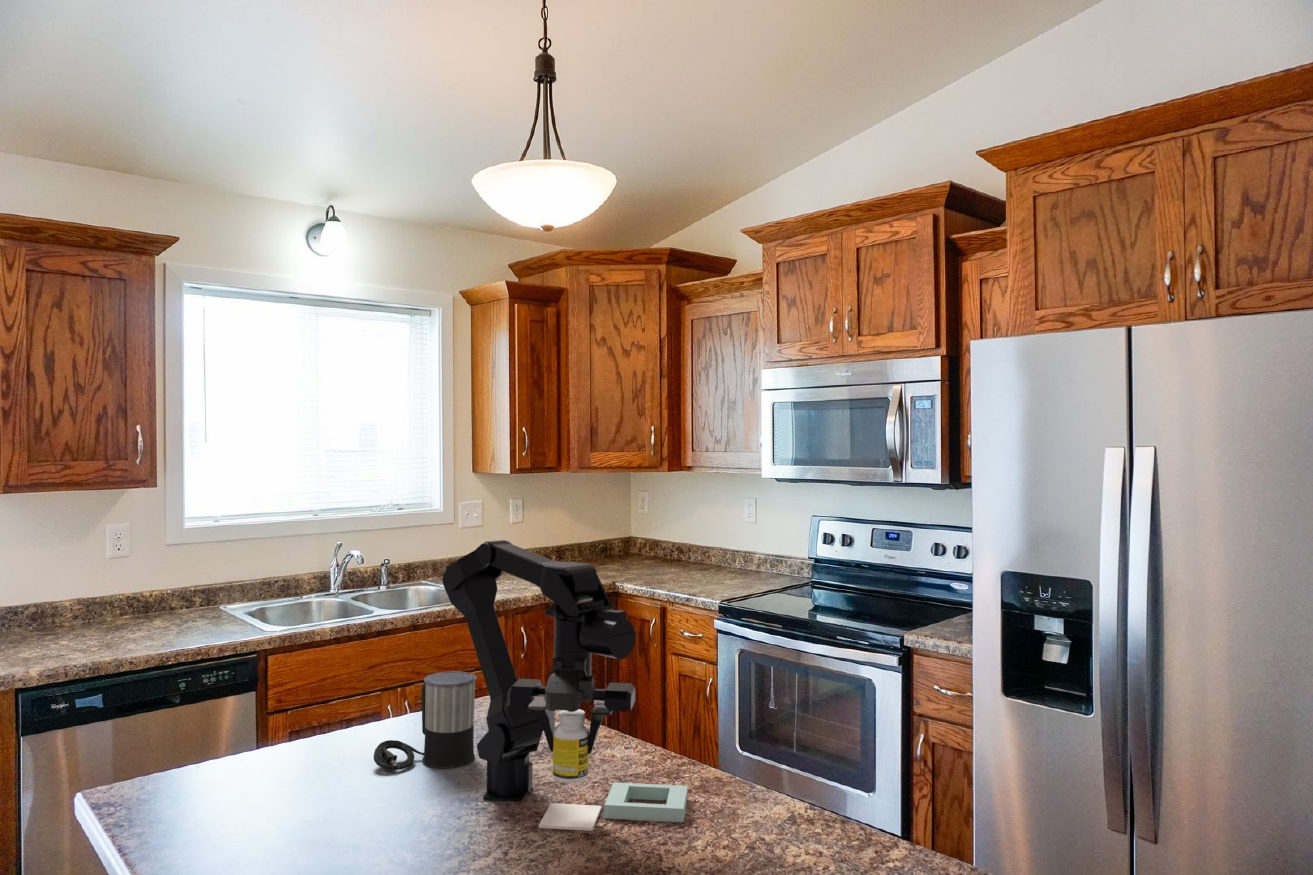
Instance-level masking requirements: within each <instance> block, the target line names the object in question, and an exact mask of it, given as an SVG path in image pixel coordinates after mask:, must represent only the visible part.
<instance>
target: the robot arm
mask: <svg viewBox="0 0 1313 875" xmlns="http://www.w3.org/2000/svg"><path fill="white" fill-rule="evenodd" d="M504 573H507V574H509V575H511V576H513V577H516V578H519V579H521V580H523V581H525V582H528V583H530V584H533V585H535V586H536V587H538V588H539V589H540V591H541V595H543V596H544V597H545V598H547V599H548V600H549V601H551V602H552V604H551V605H550V606H548V608H546V609H545V610H544V612H543V613H544V615H545V616H547V617H552V618H554V620H553V621H554V624H553V626H554V629H553V658H552V668H551V671H550V674H549V677H548V680H547V683H546V686H543V684H542V680H541V679H536V678H535V679H534V678H533V679H532V678H519V679H518V677H517V674H516V671H515V669H514V664H513V662H512V659H511V655H510V653H509V649H508V647H507V643H506V639H505V637H504V634H503V631H502V628H501V624H500V622H499V618H498V615H497V613H496V608H495V602H496V599H497V593H498V585H497V580H499V578H500V577H501V576H503V574H504ZM442 584H443V588H444V590H445V593H446V595H447V597H448V600H449V602H450V603H451V605H452V606H453V607H454V608H455V609H456V610H457V611H458V612H460V613H461V614H462V615H463V616H464V618H465V621H466V624H467V627H468V630H469V633H470V637H471V640H472V643H473V647H474V650H475V654H476V656H477V659H478V664H479V666H480V670H481V672H482V676H483V679H484V682H485V685H486V688H487V692H488V695H489V699H490V701H489V706H488V710H487V714H486V724H487V730H488V731H487V732H486V733H485V735H484V736H483V737H482V738H481V739H480V740H479V741H478V743H477V744H476V749H477V754H478V759H481V760H483V761H486V791H485V792H484V793H483V795H482V799H483V800H491V801H492V800H493V801H494V800H495V801H513V802H514V801H515V802H516V801H517V802H522V801H524V799H525V798H526V796H527V795H528V793H529V792H530V791H531V789H532V788H533V772H534V771H533V766H534V764H533V761H530V753H532V752H534V753H535V752H538V749H539V744H540V742H541V738H542V737H543V736H542V735H543V732H544V735H545V739H546V742H547V745H548V748H549V751H550V752H552V753H553V736H554V729H555V728H556V718H555V714H556V713H555V712H556V711H561V710H567V711H568V712H575V711H577V710H578V709H580V708H581V703H585V702H587V703H588V702H591V703H593V708H592V710H591V711H590V724H589V725H590V726H589V740H588V753H589V755H590V754H592V751H593V748H594V746H595V743H596V740H597V737H598V734H599V730H600V728H601V725H602V722H603V721H604V718H605V717H609V716H611V715H612V713H613V712H623V713H625V712H631V711H632V709H633V707H634V704H635V702H636V687H635V686H634V685H633V683H628V682H609V684H608V685H607V687H606V688H596V684H595V683H596V682H595V679H594V676H593V675H592V658H593V657H592V655H593V654H594V655H598V656H603V657H607V658H612V659H617V660H624V659H625V658H628V657H629V655H631V653H632V652H633V649H634V648H635V644H636V639H637V632H636V631H635V627H634V625H633V623H632V622H631V621H630V620H628V619H627V618H628V616H627V611H626V610H623V609H622V610H621V609H617V610H614V609H613V608H614V606H613V604H612V602H611V599H610V597H609V596H608V594H607V591H606V590H605V587H604V585H603V584H602V582H601V579H600V578H599V576H598V573H597V569H596V568H595V567H594V566H593V565H591V564H590V563H584V562H577V561H576V562H575V561H558V560H553V559H551V558H548V557H546V556H543V555H540V554H538V553H535V552H533V551H531V550H527V549H524V548H522V547H520V546H517V545H515V544H512V543H511V542H510V541H507V540H505V539H501V540H490V541H485V542H483V543H482V544H479V546H477V547H476V548H475V549H474V550H472V551H471V552H469V553H467V554H465V555H463V556H462V557H460V558H458V559H457V560H455V562H451V563H450V564H449V565H448V566H447V567H446V569H445V571H444V572H443V575H442Z"/></svg>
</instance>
